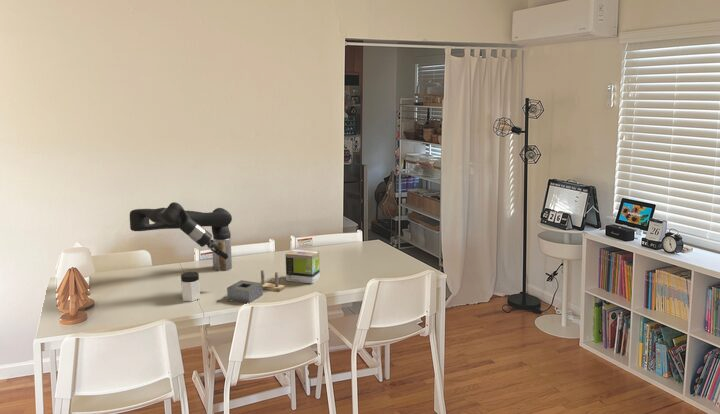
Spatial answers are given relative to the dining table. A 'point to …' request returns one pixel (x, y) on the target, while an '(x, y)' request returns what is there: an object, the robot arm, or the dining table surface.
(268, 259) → the dining table surface
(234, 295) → the block
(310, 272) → the tea box
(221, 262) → the walnut pin
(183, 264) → the dining table surface
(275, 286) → the peg rack
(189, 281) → the jar
